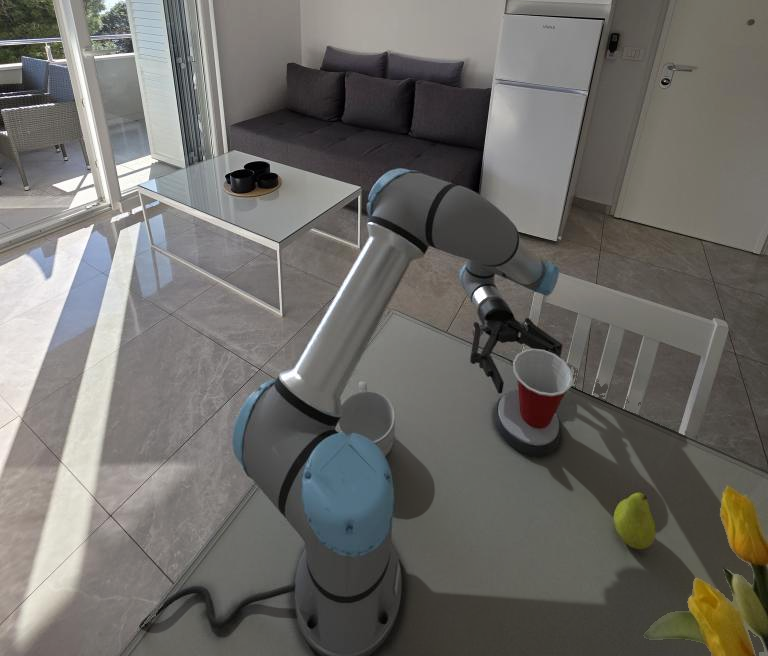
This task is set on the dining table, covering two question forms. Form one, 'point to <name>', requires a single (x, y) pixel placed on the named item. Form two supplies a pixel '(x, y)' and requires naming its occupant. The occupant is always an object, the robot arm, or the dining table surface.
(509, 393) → the scale
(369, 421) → the teacup
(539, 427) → the plastic cup
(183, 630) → the dining table surface
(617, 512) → the fruit
